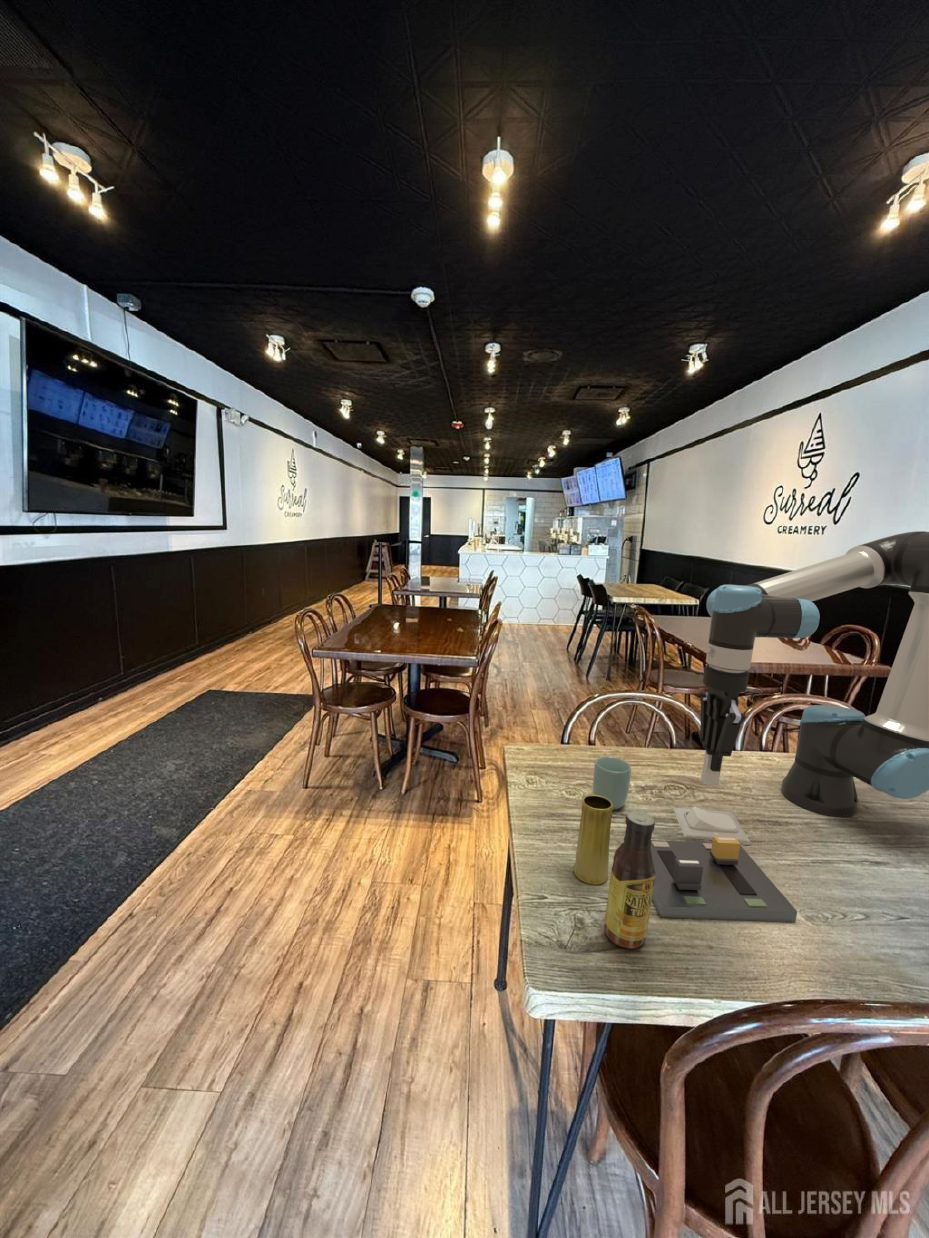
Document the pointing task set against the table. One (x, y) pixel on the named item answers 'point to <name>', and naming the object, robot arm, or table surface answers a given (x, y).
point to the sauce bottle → (631, 884)
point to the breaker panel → (716, 887)
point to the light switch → (709, 824)
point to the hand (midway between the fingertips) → (709, 783)
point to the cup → (612, 780)
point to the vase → (594, 840)
